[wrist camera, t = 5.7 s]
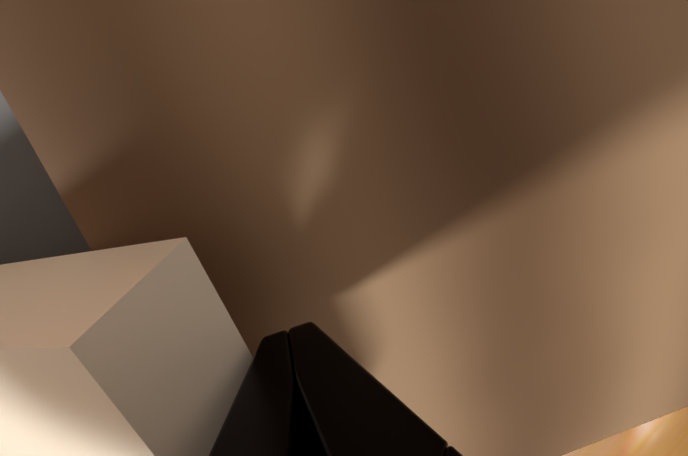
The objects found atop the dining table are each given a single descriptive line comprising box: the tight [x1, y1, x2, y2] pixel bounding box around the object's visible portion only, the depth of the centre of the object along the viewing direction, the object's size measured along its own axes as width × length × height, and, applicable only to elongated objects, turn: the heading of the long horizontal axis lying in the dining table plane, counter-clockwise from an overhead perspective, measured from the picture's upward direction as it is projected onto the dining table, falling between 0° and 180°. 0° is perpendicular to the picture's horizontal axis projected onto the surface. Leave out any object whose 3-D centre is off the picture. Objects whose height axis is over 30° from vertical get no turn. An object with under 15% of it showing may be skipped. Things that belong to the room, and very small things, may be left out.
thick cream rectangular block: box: [0, 237, 253, 456], centre depth 8 cm, size 9×6×2 cm
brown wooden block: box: [0, 0, 688, 456], centre depth 11 cm, size 14×14×4 cm
